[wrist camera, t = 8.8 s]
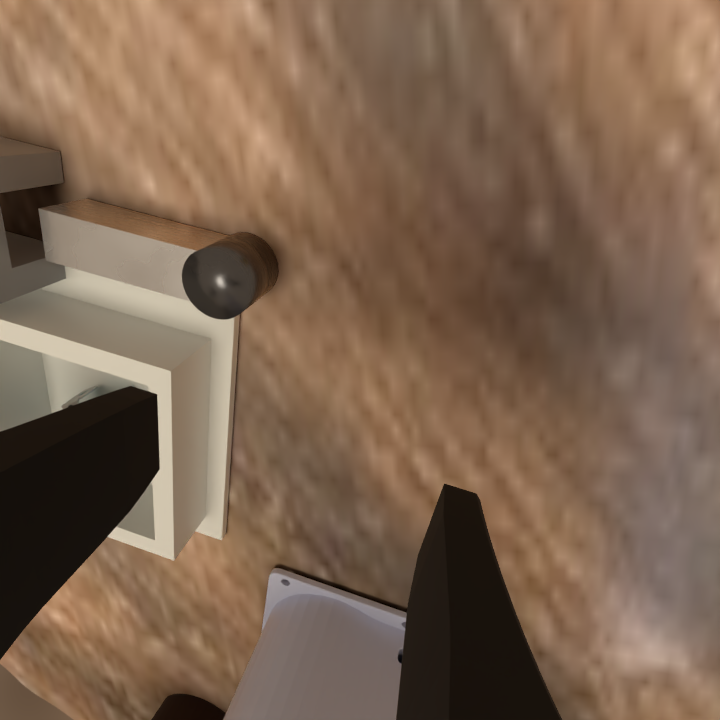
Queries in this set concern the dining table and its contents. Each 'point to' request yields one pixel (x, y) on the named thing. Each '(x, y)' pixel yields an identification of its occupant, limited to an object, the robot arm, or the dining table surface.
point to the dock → (118, 366)
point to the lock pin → (160, 255)
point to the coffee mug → (187, 709)
